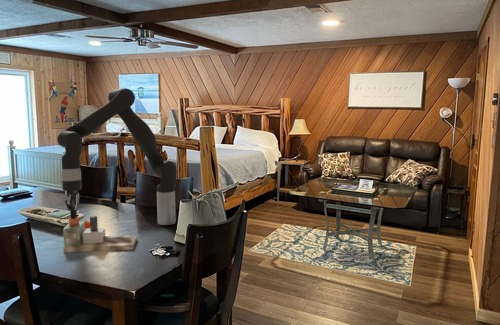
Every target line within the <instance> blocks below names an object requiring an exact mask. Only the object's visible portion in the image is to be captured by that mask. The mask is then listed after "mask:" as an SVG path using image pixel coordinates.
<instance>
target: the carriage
mask: <svg viewBox="0 0 500 325" xmlns="http://www.w3.org/2000/svg"><path fill="white" fill-rule="evenodd" d="M89 222H90V228H89V229H85V231H84V232H83V242H84V244H88V243H103V242H104V240H103V237H104V236H106V228H105V227H98V226H99V225H98V223H99V222H98V216H97V215H92V216H89Z"/></svg>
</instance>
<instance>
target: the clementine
mask: <svg viewBox="0 0 500 325" xmlns="http://www.w3.org/2000/svg"><path fill="white" fill-rule="evenodd" d="M84 221H85V229H89V228H90V221H88V220H84Z"/></svg>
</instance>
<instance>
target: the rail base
mask: <svg viewBox="0 0 500 325" xmlns="http://www.w3.org/2000/svg"><path fill="white" fill-rule="evenodd" d="M85 221H86V220H82V221H81V220H79V225H78V226H69V223H67V224H66V225H65V226H64V228H63V230H62V233H63V245H64V246H63V253H86V252H105V251H106V252H107V251H127V250H134V248H135V246H136V243H137V240H138V238H137V237H138V236H137V235H131V234H130V235H128V234H127V235H108V236H106V235H105V236H104V237H103V240H104V242H103V243H88V244H84V242H83V232H84V231H85Z"/></svg>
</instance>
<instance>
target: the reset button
mask: <svg viewBox="0 0 500 325" xmlns="http://www.w3.org/2000/svg"><path fill="white" fill-rule="evenodd" d="M79 221H80V217H79V216H77V218H75V219H71V217H68V224H69V226H78V225H79Z"/></svg>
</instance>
